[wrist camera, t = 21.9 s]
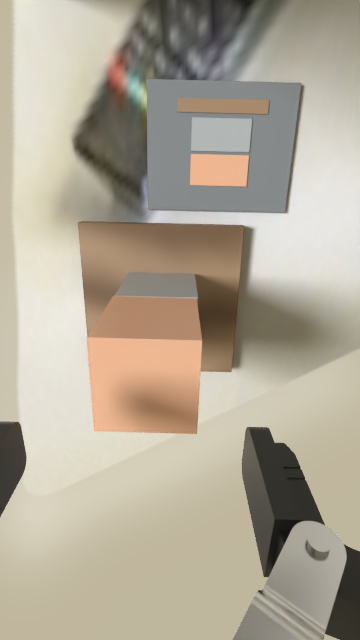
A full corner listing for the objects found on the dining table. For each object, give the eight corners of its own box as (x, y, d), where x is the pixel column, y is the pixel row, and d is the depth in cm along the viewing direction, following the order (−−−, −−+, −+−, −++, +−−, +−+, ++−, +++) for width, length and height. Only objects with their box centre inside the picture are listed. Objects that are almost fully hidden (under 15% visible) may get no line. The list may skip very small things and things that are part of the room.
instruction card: (147, 80, 22) (146, 78, 22) (300, 84, 22) (302, 82, 22) (148, 208, 25) (147, 209, 25) (283, 212, 25) (285, 212, 25)
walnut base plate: (81, 221, 26) (77, 222, 25) (241, 225, 26) (244, 226, 25) (92, 363, 30) (90, 368, 29) (229, 366, 30) (231, 372, 29)
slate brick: (128, 272, 26) (114, 295, 20) (194, 273, 26) (198, 297, 20) (130, 332, 28) (118, 369, 22) (192, 333, 28) (195, 371, 22)
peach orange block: (112, 296, 20) (86, 337, 15) (196, 298, 20) (202, 340, 15) (116, 369, 22) (94, 430, 17) (193, 371, 22) (196, 433, 17)
